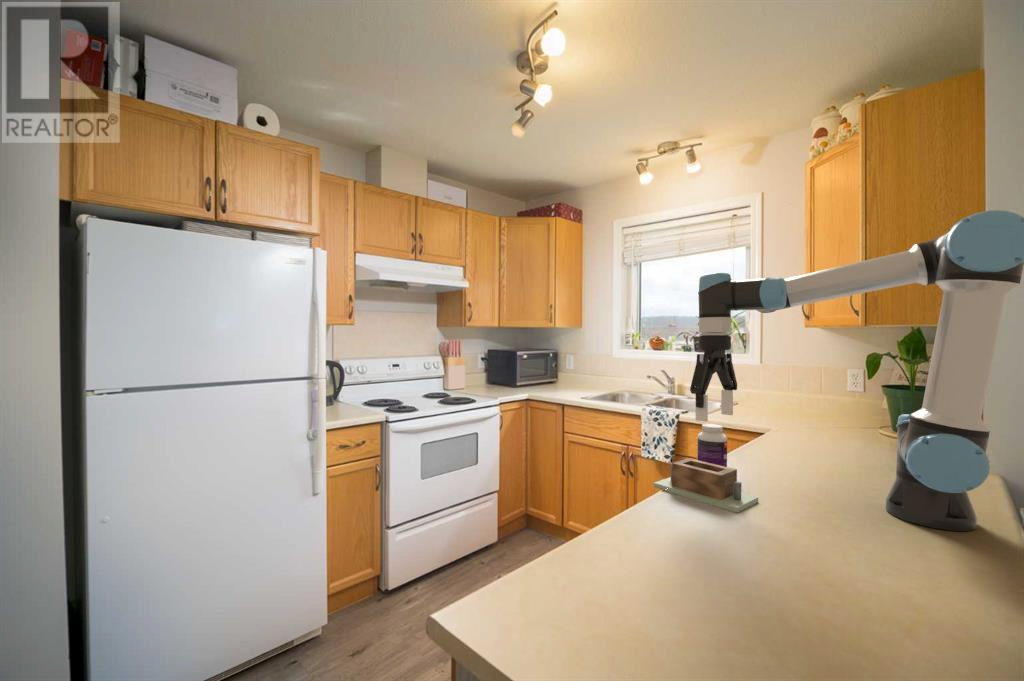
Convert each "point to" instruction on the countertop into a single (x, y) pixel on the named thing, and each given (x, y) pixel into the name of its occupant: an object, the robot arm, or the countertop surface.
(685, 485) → the frame
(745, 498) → the green board with pegs
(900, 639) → the countertop surface
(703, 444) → the pill bottle
